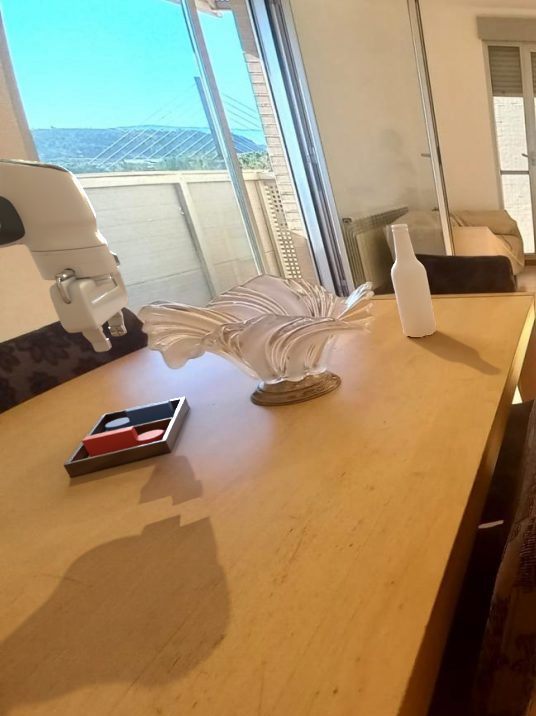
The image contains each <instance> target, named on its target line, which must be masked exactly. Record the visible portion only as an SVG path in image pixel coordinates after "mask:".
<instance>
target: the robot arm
mask: <svg viewBox="0 0 536 716" xmlns="http://www.w3.org/2000/svg"><path fill="white" fill-rule="evenodd" d="M97 220H98V219H97V215H96V213H95V210H94V208H93V206H92V204H91V202H90V200H89V198H88V195H87V194H86V192H85V190H84V189H83V187H82V184H81V183H80V182H79V180H78V178H76V176H75V175H74V173H72V172H71V171H70V170H69V169H67V168H65V167H64V166H61V165H59V164H57V163H51V162H46V161H45V162H44V161H38V160H29V159H18V158H0V249H3V248H9V247H12V246H13V247H14V246H20V245H25V246H26V247H27V250H28V251H29V253H30V256H31V258H32V260H33V262H34V264H35V266H36V268H37V271H38V272H39V274H40V277H41V278H42V279H43V280H45V281H55V282H54V284H52V285H50V286H49V290H48V291H49V296H50V299H51V303H52V305H53V307H54V310H55V313H56V315H57V317H58V320H59V322H60V324H61V326H62V327H63V329H64V330H65V331H66V332H67V333H69V334H74V333H82V336H83V337H85V339H86V340H87V341H88V342H90V343H91V345H92V347H93V350H94V351H95V352H97V353H102V352H107V351H109V350H111V348H112V347H113V346H112V343H111V340H110V339H109V338H107V337H106V335H105V333H104V332H103V331H104V328H103V326H104V324H105V323H106V322H107V323H108V330H109V332H110V334H111V336H112V337H115V338H117V337H122V336H124V335H126V333H128V331H127V328H126V326H125V321H124V314H123V310H122V309H123V308H124V307H126V306H127V305H128V304H129V295H128V291H127V288H126V285H125V282H124V279H123V276H122V273H121V271H120V269H119V267H121V265H122V263H121V260H120V258H119V256H118V255H117V254H116V253H114V252H112V251H111V249H110V247H109V244H108V242H107V239H105V238H104V237H103V235H102V234H101V232H100V230H99V228H98V224H97V223H98V221H97Z"/></svg>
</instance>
